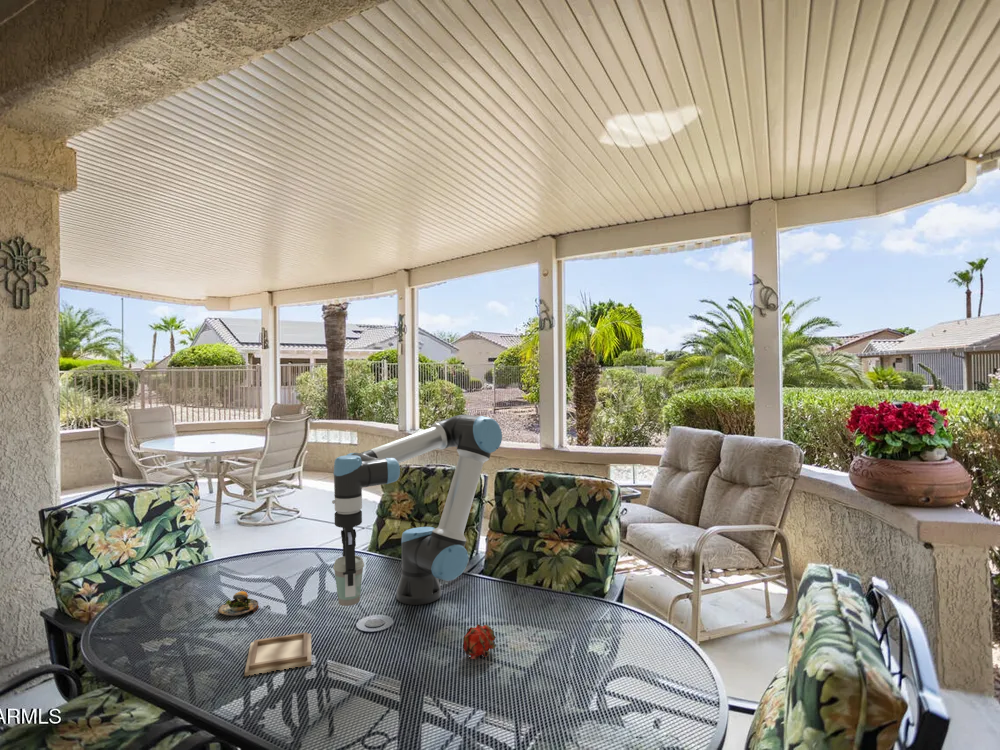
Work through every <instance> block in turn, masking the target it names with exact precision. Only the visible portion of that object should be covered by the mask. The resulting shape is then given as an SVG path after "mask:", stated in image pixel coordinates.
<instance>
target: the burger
mask: <svg viewBox="0 0 1000 750" xmlns="http://www.w3.org/2000/svg"><path fill="white" fill-rule="evenodd" d="M243 589H244V587H242V588H241V590H240V591H238V592H236V593H234V595H233V596H232V599H233V600H232V599H231V600H230V599H227V600H226V601H225V603H223V604H221V605H220V606H219V607H218V609H217V614H218V613H220V614H221V615H224V616H240V615H244V614H247V613H249V612H251V611H252V614H254V613H256V612H258V608H259V607H260V606H259V601H258V600H257V599H253V598H249V594H248V593H247V591H244V590H243Z"/></svg>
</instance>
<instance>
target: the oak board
mask: <svg viewBox="0 0 1000 750" xmlns="http://www.w3.org/2000/svg"><path fill="white" fill-rule="evenodd" d="M247 655H248V656H247V658H246V659H247V660H246V664H245V667H244V668H245V670H244V677H250V676H255V675H254V674H256V675H260V674H259V673H262V674H266V673H267V672H268V673H272V672H271V671H274V672H277V671H276V670H280V671H284V669H286V670H290V669H289V668H292V669H296V668H295V667H298V668H302V666H304V667H310V666H312V633H308V632H299V633H292V634H286V635H280V636H274V637H266V638H260V639H254V641H253V642H250V646H249V649H248V654H247ZM249 675H250V676H249Z"/></svg>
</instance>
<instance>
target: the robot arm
mask: <svg viewBox="0 0 1000 750" xmlns="http://www.w3.org/2000/svg"><path fill="white" fill-rule="evenodd" d="M502 441H503V432H502V428H501V427H500V424H499V423H498V422H497V421H496V420H495V419H494V418H492V417H490V416H489V417H488V416H484V415H470V414H458V415H454V416H451V417H448V418H446V419H445V418H444V419H443V420H439V421H437V422H435V423H432V424H431V425H430V428H426V429H423V430H421V431H417V432H414V433H413V434H410V435H407V436H404V437H402V438H398V439H396V440H393V441H390V442H388V443H385V444H381V445H379V446H376V447H374V448H372V449H368V450H365V451H361V452H360V453H359V452H350V453H347V454H346V455H340V456H338V457H336V458H335V459H334V464H333V472H332V473H333V484H334V486H333V488H334V491H333V492H334V500H332V501H331V504H334V511H335V512H334V525H335V527H338V528H342V530H340V535H341V536H340V538H341V544H342V556H341V557H343V556H345V568H346V571H345V572H343V575H345V598H346V597H353V596H355V573H356V570H355V555H356V546H357V545H356V543H357V542H356V538H357V532H356V529H355V528H354V527H357V526H360V525H362V522H363V511H362V509H363V492H362V490H363V488H368V487H375V486H376V487H377V486H381V485H382V486H383V485H389V484H391V483H392V484H393V483H395V482H397V481H398V480H399V479H400V476H401V470H400V469H401V467H400V464H401V463H404V462H407V461H409V460H411V459H414V458H416V457H419V456H421V455H424V454H426V453H429V452H432V451H435V450H437V449H438V450H442V451H443V450H445V449H448V448H453V447H454V448H456V452H457V454H458V460H457V463H456V467H455V469H454V473H453V476H452V480H451V483H450V486H449V491H448V492H447V495H446V496H447V497H446V499H445V503H444V507H443V509H442V513H441V517H440V520H439V523H438V526H437V527H436V528H435V527H433V526H420V527H413V528H409V529H406V530H404V531H403V532H402V534H401V541H400V544H401V575H400V579H399V581H398V585H397V588H396V594H395V595H396V600H397V602H399V603H402V604H403V605H411V606H421V605H426V604H431V603H433V602H435V601H437V600H439V599H440V597H441V596H442V587H441V584H440V582H439V580H443V581H446V582H447V581H448V582H449V581H454V580H455V579H457V578H458V577H460V576H461V575H462V574H463V573H464V571H465V570H466V568H467V565H468V563H469V554H468V550H467V549H466V548H465V546H466V543H467V538H466V537H465V535H464V532H465V531H466V530H465V529H466V526H467V522H468V519H469V516H470V512H471V508H472V504H473V501H474V499H475V498H474V497H475V495H476V490H477V487H478V484H479V480H480V477H481V474H482V469H483V466H484V464H485V462H488V461H489V460H490V458H491V454H492V453H495V452H496V451H497V450H498V449H499V448H500V447H501V445H502Z"/></svg>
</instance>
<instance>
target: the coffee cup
mask: <svg viewBox="0 0 1000 750" xmlns="http://www.w3.org/2000/svg"><path fill="white" fill-rule="evenodd" d="M364 567H365V561H364V560H363V557H361V556H359V555H356V554H355V570H356V573H355V596H353V597H346V598H345V575H343V572H345V571H346V568H345V556H340V557H338V558H336V559H335V560H334V564H333V567H332V569H333V570H334V578H335V584H336V585H335V586H336V594H337V598H338V600H337V601H338V604H339V605H340V606H345V607H351V606H354V605H356V604H359V602H360V601H361V594H362V593H361V592H362V583H363V582H362V581H363V572H364V571H363V570H364Z"/></svg>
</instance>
